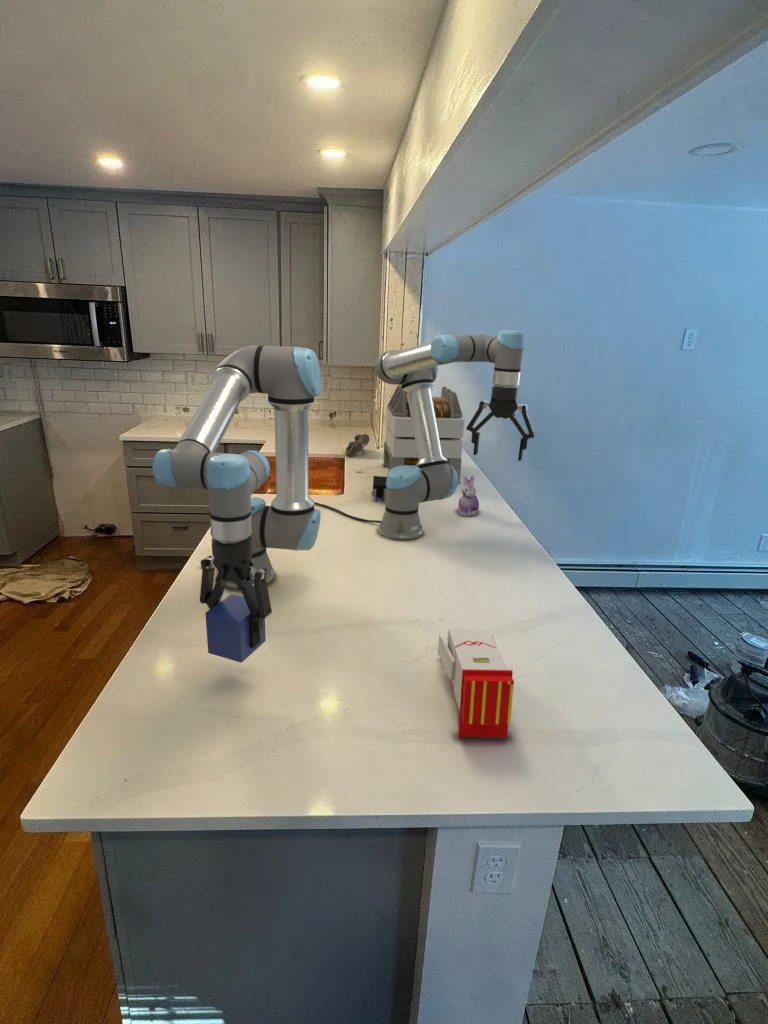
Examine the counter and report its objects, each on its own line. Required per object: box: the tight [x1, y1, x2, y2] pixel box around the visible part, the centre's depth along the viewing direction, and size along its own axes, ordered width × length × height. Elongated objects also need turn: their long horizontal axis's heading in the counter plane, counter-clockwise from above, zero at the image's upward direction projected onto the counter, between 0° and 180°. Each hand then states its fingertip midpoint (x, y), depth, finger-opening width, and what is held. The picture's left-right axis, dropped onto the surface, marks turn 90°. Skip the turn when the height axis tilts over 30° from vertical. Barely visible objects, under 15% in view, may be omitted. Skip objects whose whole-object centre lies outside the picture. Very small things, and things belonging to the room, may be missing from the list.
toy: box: [437, 628, 515, 738], centre depth 117 cm, size 12×13×30 cm
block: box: [205, 593, 267, 664], centre depth 115 cm, size 9×8×9 cm
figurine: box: [457, 474, 480, 517], centre depth 221 cm, size 9×10×15 cm
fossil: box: [345, 433, 370, 458], centre depth 306 cm, size 22×10×15 cm
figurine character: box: [371, 475, 387, 502], centre depth 236 cm, size 7×8×15 cm
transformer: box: [383, 384, 465, 484], centre depth 268 cm, size 34×33×41 cm
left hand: (237, 639), depth 116 cm, fingers closed on block, 8 cm apart
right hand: (497, 456), depth 172 cm, fingers open, 13 cm apart
